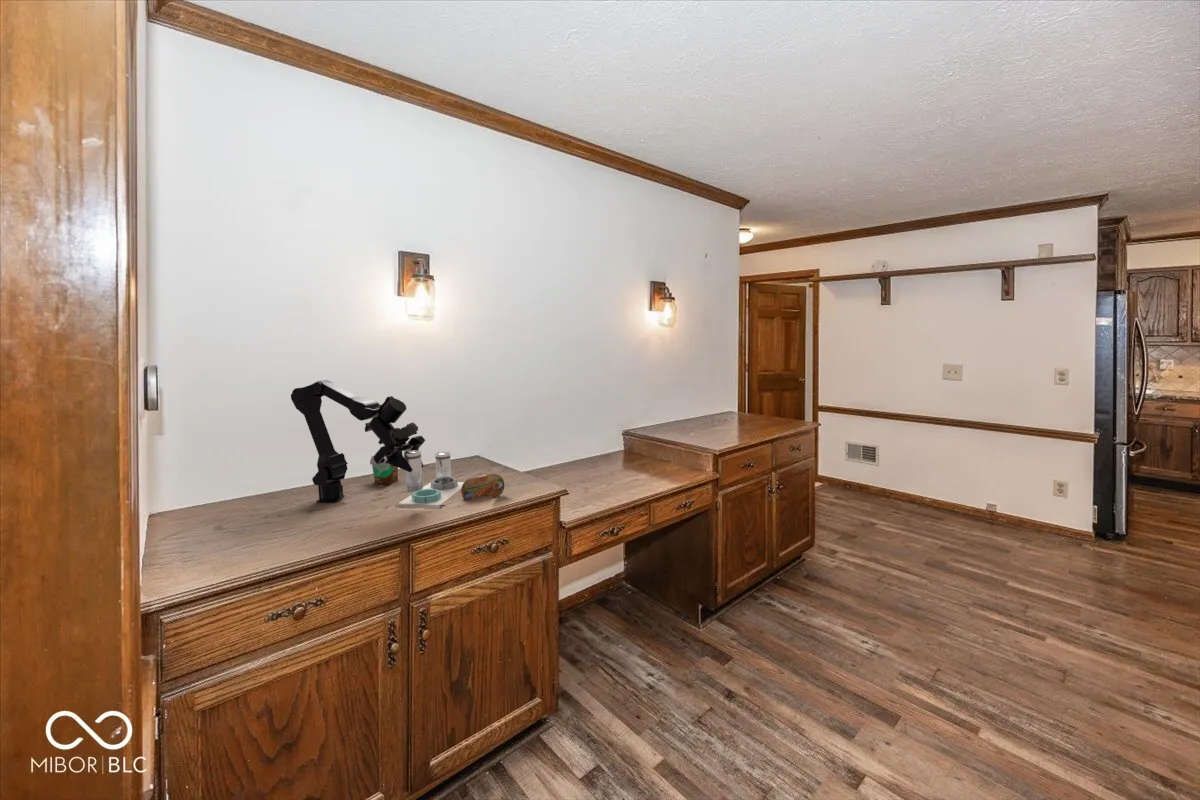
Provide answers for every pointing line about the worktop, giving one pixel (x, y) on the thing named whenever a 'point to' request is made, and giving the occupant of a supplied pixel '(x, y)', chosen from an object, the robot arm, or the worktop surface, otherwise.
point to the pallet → (432, 504)
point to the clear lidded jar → (443, 467)
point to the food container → (384, 472)
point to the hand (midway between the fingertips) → (416, 469)
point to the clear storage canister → (413, 471)
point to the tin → (482, 486)
